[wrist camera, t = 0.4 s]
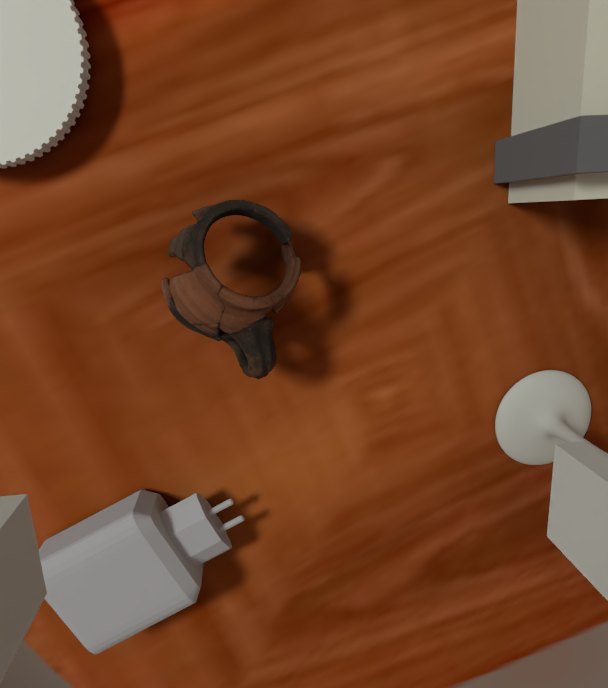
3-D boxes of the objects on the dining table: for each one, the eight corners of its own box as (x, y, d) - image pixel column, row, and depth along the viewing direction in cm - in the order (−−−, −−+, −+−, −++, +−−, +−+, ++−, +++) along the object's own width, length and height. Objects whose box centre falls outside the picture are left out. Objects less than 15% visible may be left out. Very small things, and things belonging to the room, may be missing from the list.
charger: (264, 534, 43) (111, 614, 44) (210, 448, 41) (48, 534, 41) (267, 571, 39) (95, 661, 39) (206, 477, 36) (23, 574, 37)
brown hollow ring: (132, 254, 37) (149, 207, 30) (243, 220, 41) (283, 171, 34) (201, 404, 37) (235, 393, 30) (305, 354, 41) (357, 334, 34)
